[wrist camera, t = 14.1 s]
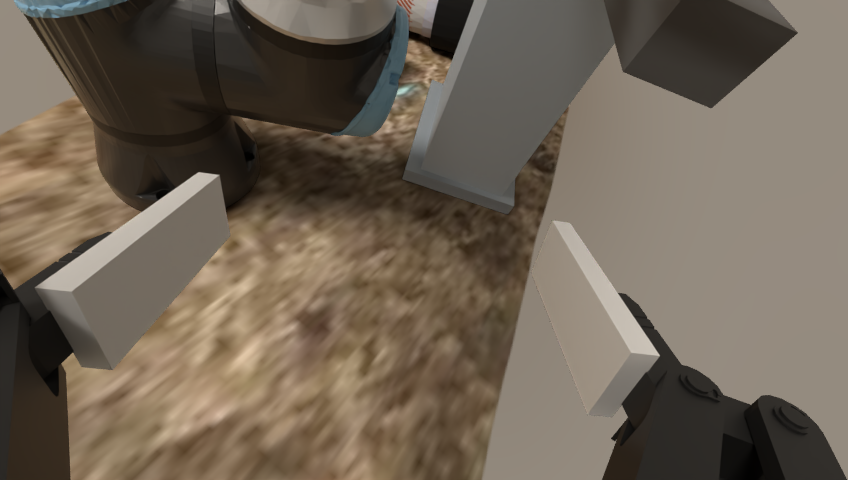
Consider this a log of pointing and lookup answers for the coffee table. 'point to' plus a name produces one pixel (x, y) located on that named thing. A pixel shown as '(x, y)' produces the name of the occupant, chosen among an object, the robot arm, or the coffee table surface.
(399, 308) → the coffee table surface
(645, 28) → the bar
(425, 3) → the black white tapered cylinder
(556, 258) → the robot arm
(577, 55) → the post
